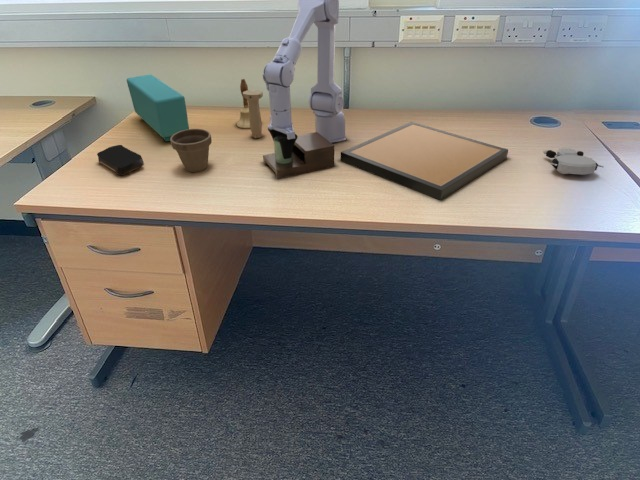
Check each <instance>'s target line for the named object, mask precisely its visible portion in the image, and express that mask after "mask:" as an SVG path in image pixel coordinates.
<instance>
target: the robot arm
mask: <svg viewBox="0 0 640 480" xmlns="http://www.w3.org/2000/svg"><path fill="white" fill-rule="evenodd" d="M339 11H340V0H298V1H297V16H296V18H295V21H294V23H293V25H292V28H291V31H290V34H289V36H288V37H287V36H286V37H284V38H283V39H282V40H281V43H280V45H279V46H278V49H277V51H276V52H275V55H274V57H273V59H272V61H269V62H268V63H266V65H265V66H264V67H263V74H262V79H263V82H264V83H265V86H266V90H267V92H268V96H269V112H270V116H269V124H267V131H268V132H269V134H270V136H271V138H272V140H273V141H272V142H274V138H275V137H276V138H277V139H278V141H279V143H280V146H281V150H282V155H283V158H284V159H289V158H291V156H292V151H293V146H294V144H295V141H296V140H297V136H298V134H296V131H295V130H294V124H293V119H292V100H291V85H292V83H293V82H294V79H295V72H296V64H297V63H298V60H299V58H300V56H301V54H302V51H303V46H302V43H303V41H304V39H305V38H306V36H307V34H308V32H309V31H310V29H311V27H312V26H313V24H314V25H315V26H316V28H317V78H316V79H317V81H316V83H315V84H314V85H312V86H311V87H310V94H309V99H308V106H309V108H310V110H311V111H312V114H314V124H315V125H314V127H315V132H318V133H319V134H320V135H321V136H323V137H324V138H325V139H327V140H328V141H329V142H330V143H332V144H334V143H338V142H343V141H347V138H346V117H345V115H344V113H343V111H342V110H343V107H344V97H343V89H342V88H341V87H340V86H339V85H338V84H337V83H336V82H335V56H336V55H335V53H336V25H337V24H339V13H340V12H339Z"/></svg>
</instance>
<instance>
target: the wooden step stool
mask: <svg viewBox="0 0 640 480" xmlns="http://www.w3.org/2000/svg"><path fill="white" fill-rule="evenodd" d="M292 155H293V160H292V162H290V163H286V164H280V163H277V162H276V161H275V152H273V153H268V154H263V155H262V161H263V164H264V166H266V165H267V166H269V168H270V169H272V171H273V172H274V174H275V178H276V179H277V180H280V179H285V178H288V177H292V176H298V175H302V174H306V173H311V172H316V171H320V170H325V169H331V168H333V167H334V168H335V145H334V143H330V142H329V141H328V140H327V139H325V138H324V137H323V136H321V135H320V134H319V133H318V132H316V131H315V132H310V133H305V134H300V135H297V140H296V141H295V144H294V146H293V151H292ZM302 158H304V161H303V160H302Z"/></svg>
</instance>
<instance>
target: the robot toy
mask: <svg viewBox="0 0 640 480" xmlns="http://www.w3.org/2000/svg"><path fill="white" fill-rule="evenodd" d="M542 154H544V155H545V157H546V158H549V159H552V161H551V162H550V166H552V167H553V168H554V170H556V171H557V172H558V173H559V174H561V175H568V174H569V175H579V176H585V175H590V174H593V173H595V171H597V170H598V168H599V167H601V168H604V165H600V164H598V162H596V161H595V160H594V159H593V158H592V157H589V156H584V152H583V151H581V150H577V151H576V150H575V149H573V148H565V147H563V148H558V150H557V152H556V151H553V150H551V149H549V150H548V149H547V150H543V151H542Z"/></svg>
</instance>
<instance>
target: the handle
mask: <svg viewBox="0 0 640 480" xmlns="http://www.w3.org/2000/svg"><path fill="white" fill-rule="evenodd" d="M243 97H244V98H246V99H247V100H248V106H249V121H250V128H249V129H250V132H251V136H252V138H254V139H261V137H262V136H263V121H262V115H261V109H260V99H261V98H263V97H264V94H263V91H261V90H258V89H257V90H253V89H251V90H248V91H244V92H243V96H242V98H243Z"/></svg>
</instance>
